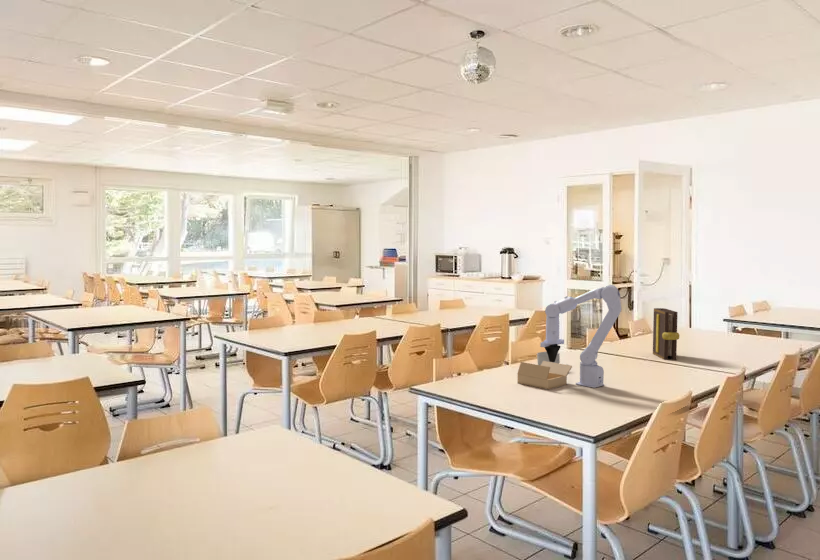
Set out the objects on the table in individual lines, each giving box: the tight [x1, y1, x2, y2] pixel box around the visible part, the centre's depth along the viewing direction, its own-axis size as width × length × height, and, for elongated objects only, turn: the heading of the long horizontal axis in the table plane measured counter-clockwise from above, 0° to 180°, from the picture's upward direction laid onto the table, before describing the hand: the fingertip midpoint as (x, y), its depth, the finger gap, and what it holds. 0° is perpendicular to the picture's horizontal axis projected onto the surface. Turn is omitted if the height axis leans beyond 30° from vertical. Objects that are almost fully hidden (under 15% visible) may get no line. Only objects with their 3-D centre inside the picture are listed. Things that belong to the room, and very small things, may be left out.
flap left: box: [516, 361, 550, 380], centre depth 268 cm, size 15×6×1 cm
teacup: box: [536, 351, 561, 365], centre depth 306 cm, size 14×11×8 cm
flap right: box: [541, 361, 573, 377], centre depth 278 cm, size 15×6×1 cm
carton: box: [517, 372, 568, 391], centre depth 272 cm, size 16×13×4 cm
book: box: [652, 307, 680, 361], centre depth 336 cm, size 22×8×25 cm, turn 178°
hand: (552, 361), depth 277 cm, fingers closed
